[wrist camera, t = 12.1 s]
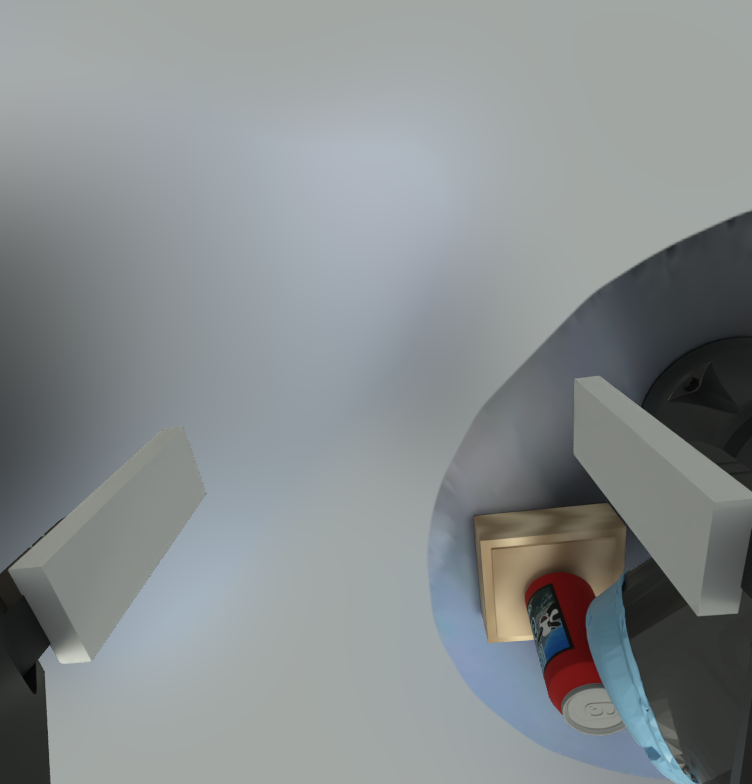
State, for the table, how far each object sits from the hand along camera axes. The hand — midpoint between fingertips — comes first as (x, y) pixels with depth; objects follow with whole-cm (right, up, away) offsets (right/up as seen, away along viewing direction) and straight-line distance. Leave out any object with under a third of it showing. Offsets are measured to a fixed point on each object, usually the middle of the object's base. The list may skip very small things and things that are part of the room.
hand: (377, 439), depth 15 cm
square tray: (+18, -17, +35) cm, 43 cm away
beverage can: (+18, -19, +31) cm, 40 cm away
